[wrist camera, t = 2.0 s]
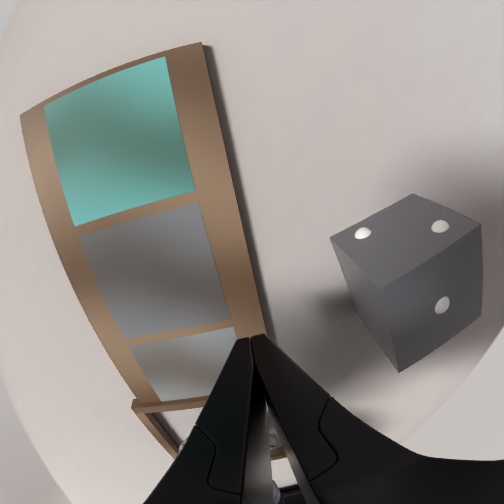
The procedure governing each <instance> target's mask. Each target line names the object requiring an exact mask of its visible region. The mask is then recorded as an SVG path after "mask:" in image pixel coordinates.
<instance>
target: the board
mask: <svg viewBox="0 0 504 504" xmlns="http://www.w3.org/2000/svg"><path fill="white" fill-rule="evenodd" d="M20 120H21V126H22V132H23V137H24V142H25V147H26V152H27V156H28V161H29V165H30V169H31V173H32V177H33V180H34V184H35V188H36V191H37V195H38V198H39V201H40V204H41V208H42V211H43V214H44V217H45V220H46V223H47V226H48V228H49V231H50V234H51V237H52V239H53V242H54V245H55V247H56V250H57V252H58V255H59V257H60V260H61V262H62V264H63V267H64V269H65V271H66V274H67V276H68V278H69V281H70V283H71V285H72V287H73V289H74V291H75V293H76V296H77V298H78V300H79V302H80V304H81V306H82V308H83V310H84V312H85V314H86V316H87V318H88V319H89V321H90V323H91V325H92V327H93V329H94V331H95V332H96V334H97V336H98V338H99V340H100V341H101V343H102V345H103V346H104V348H105V350H106V352H107V353H108V355H109V357H110V358H111V360H112V361H113V363H114V365H115V366H116V368H117V369H118V371H119V373H120V374H121V376H122V377H123V379H124V380H125V382H126V383H127V385H128V386H129V388H130V389H131V391H132V392H133V394H134V395H135V396H136V398H137V399H138V401H139V402H140V403H149V402H160V401H170V400H179V399H187V398H194V397H201V396H207V395H210V393H211V391H212V389H213V387H214V385H215V383H216V381H217V379H218V377H219V375H220V372H221V370H222V368H223V366H224V364H225V362H226V360H227V358H228V356H229V354H230V352H231V350H232V347H233V345H234V343H235V341H236V340H237V339H240V338H245V337H250V338H251V337H252V336H253V335H258V334H262V333H264V334H266V335H267V333H266V329H265V324H264V320H263V316H262V311H261V307H260V302H259V298H258V294H257V289H256V285H255V280H254V276H253V271H252V267H251V263H250V258H249V254H248V249H247V245H246V240H245V236H244V232H243V227H242V223H241V218H240V214H239V209H238V205H237V200H236V196H235V191H234V187H233V182H232V178H231V173H230V169H229V164H228V160H227V155H226V151H225V146H224V142H223V137H222V133H221V128H220V124H219V119H218V115H217V110H216V106H215V101H214V96H213V92H212V87H211V83H210V78H209V74H208V69H207V64H206V60H205V55H204V51H203V46H202V42H198V43H194V44H190V45H186V46H182V47H178V48H174V49H170V50H167V51H163V52H160V53H157V54H153V55H150V56H147V57H144V58H141V59H138V60H135V61H132V62H129V63H126V64H124V65H121V66H118V67H116V68H113V69H110V70H108V71H105V72H103V73H101V74H98V75H96V76H94V77H91V78H89V79H87V80H84V81H82V82H80V83H78V84H76V85H74V86H72V87H70V88H68V89H66V90H64V91H62V92H60V93H58V94H56V95H54V96H52V97H50V98H48V99H46V100H45V101H43V102H41V103H39V104H38V105H36V106H34V107H32V108H31V109H29V110H27V111H26V112H24V113H22V114H21V115H20Z"/></svg>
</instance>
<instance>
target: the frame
mask: <svg viewBox="0 0 504 504" xmlns="http://www.w3.org/2000/svg"><path fill="white" fill-rule="evenodd" d="M208 397H209V395H207V396H201V397H194V398H187V399H179V400H170V401H160V402H149V403H140V402H139V401H138V399H134V400H133V402H132V406H131V409H132V410H133V411H134V413H135V414H136V415H137V416H138V418H139V419H140V420H141V421H142V423H143V424H144V425H145V426H146V428H147V429H148V430H149V431H150V432H151V434H152V435H153V436H154V437H155V438H156V439H157V441H158V442H159V443H160V444H161V445H162V446H163V447H164V448H165V450H166V451H167V452H168V453H169V454H170V455H171V456H172V457H173V458H174V459H176V456H177V455H178V454H179V448H178V446H177V445H176V444H175V443H174V441H173V440H172V439H171V438H170V437H169V435H168V434H167V433H166V432H165V430H164V429H163V428H162V426H161V425H160V424H159V423H158V421H157V420H156V419H155V417H154V416H153V415H152V413H154V412H165V411H175V410H184V409H192V408H200V407H204V405H205V403H206V401H207V399H208ZM270 457H271V461H272V460H277V459H281V458H286V457H287V455H286V453H285V450H284V448H279V449H274V450H270Z"/></svg>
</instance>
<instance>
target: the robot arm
mask: <svg viewBox="0 0 504 504" xmlns="http://www.w3.org/2000/svg"><path fill="white" fill-rule="evenodd" d="M266 403H267V406H268V409H269V412H270V415H271V417H272V420H273V422H274V425H275V428H276V430H277V433H278V435H279V438H280V440H281V443H282V445H283V448H284V450H285V453H286V455H287V458H288V460H289V463H290V465H291V468H292V470H293V473H294V475H295V477H296V480H297V482H298V485H299V487H300V489H298V490H294V491H289V492H285V493H280V494H281V496H280V501H279V504H504V460H496V461H475V460H456V459H444V458H434V457H428V456H423V455H420V454H417V453H415V452H413V451H410V450H409V449H407V448H405V447H403V446H401V445H400V444H398V443H396V442H395V441H393V440H391V439H390V438H388V437H386V436H385V435H383V434H381V433H380V432H378V431H377V430H375V429H373V428H372V427H370V426H369V425H367V424H366V423H364V422H363V421H361V420H360V419H358V418H357V417H356V416H354V415H353V414H352V413H350V412H349V411H348V410H347V409H346V408H344V407H343V406H342V405H341V404H340V403H338V402H337V401H336V400H335V399H334V398H333V397H330V395H329V394H328V393H327V392H326V391H325V390H324V389H323V388H322V387H321V386H320V385H318V384H317V383H316V382H315V381H314V380H313V379H312V378H311V377H310V376H309V375H308V374H307V373H306V372H304V371H303V370H302V369H301V368H300V367H299V366H298V365H297V364H296V363H295V362H294V361H293V360H292V359H291V358H290V357H289V356H288V355H287V354H285V353H284V352H283V351H282V350H281V349H280V348H279V347H278V346H277V345H276V344H275V343H274V342H273V341H272V340H271V339H270V338H269V337H268V336H267V335H266V334H264V333H262V334H258V335H253V336H252V337H251V338H250V337H245V338H240V339H237V340H236V341H235V343H234V345H233V347H232V350H231V352H230V354H229V356H228V358H227V360H226V362H225V364H224V366H223V368H222V370H221V372H220V375H219V377H218V379H217V381H216V383H215V385H214V387H213V389H212V391H211V393H210V395H209V397H208V399H207V401H206V403H205V405H204V407H203V409H202V411H201V413H200V415H199V417H198V419H197V421H196V423H195V424H196V425H195V426H194V427H193V429H192V431H191V433H190V435H189V437H188V439H187V440H186V442H185V444H184V446H183V448H182V449H181V451H180V453H179V454H178V456H177V457H176V459H175V460H174V462H173V463H172V465H171V466H170V468H169V469H168V471H167V472H166V473H165V475H164V476H163V478H162V479H161V480H160V482H159V483H158V485H157V486H156V487H155V489H154V490H153V491H152V493H151V494H150V495H149V497H148V498H147V499H146V501H145V502H144V503H143V504H274V498H273V484H272V470H271V457H270V443H269V430H268V417H267V406H266Z"/></svg>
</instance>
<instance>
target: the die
mask: <svg viewBox="0 0 504 504" xmlns="http://www.w3.org/2000/svg"><path fill="white" fill-rule="evenodd" d="M330 240H331V243H332V245H333V248H334V250H335V253H336V256H337V258H338V261H339V263H340V266H341V269H342V272H343V274H344V277H345V280H346V283H347V285H348V288H349V291H350V294H351V297H352V300H353V302H354V305H355V308H356V311H357V314H358V315H359V317H360V318H361V319H362V321H363V322H364V324H365V325H366V326H367V328H368V329H369V331H370V332H371V333H372V335H373V336H374V338H375V339H376V341H377V342H378V343H379V345H380V346H381V348H382V349H383V351H384V352H385V354H386V355H387V357H388V358H389V359H390V361H391V362H392V364H393V365H394V367H395V368H396V370H397V371H398V373H399V372H401V371H403V370H404V369H406V368H408V367H409V366H411V365H413V364H414V363H416V362H417V361H419V360H420V359H422V358H423V357H425V356H426V355H428V354H429V353H431V352H432V351H434V350H435V349H437V348H438V347H440V346H441V345H443V344H444V343H445V342H447V341H448V340H450V339H451V338H452V337H454V336H455V335H456V334H458V333H459V332H460V331H462V330H463V329H464V328H466V327H467V326H468V325H469V324H471V323H472V322H473V321H474V320H476V319H477V318H478V317H479V316H481V305H482V277H483V266H482V237H481V224H480V223H478V222H476V221H474V220H472V219H469V218H467V217H465V216H463V215H461V214H459V213H457V212H454V211H452V210H450V209H448V208H445V207H443V206H441V205H438V204H436V203H434V202H431V201H429V200H427V199H424V198H422V197H419V196H417V195H414V194H411V195H409V196H407V197H406V198H404V199H402V200H400V201H398V202H396V203H394V204H392V205H391V206H389V207H387V208H385V209H383V210H381V211H379V212H377V213H376V214H374V215H372V216H370V217H368V218H366V219H364V220H362V221H360V222H358V223H357V224H355V225H353V226H351V227H349V228H347V229H345V230H343V231H341V232H339V233H337V234H335V235H333V236H332V237H330Z"/></svg>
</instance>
